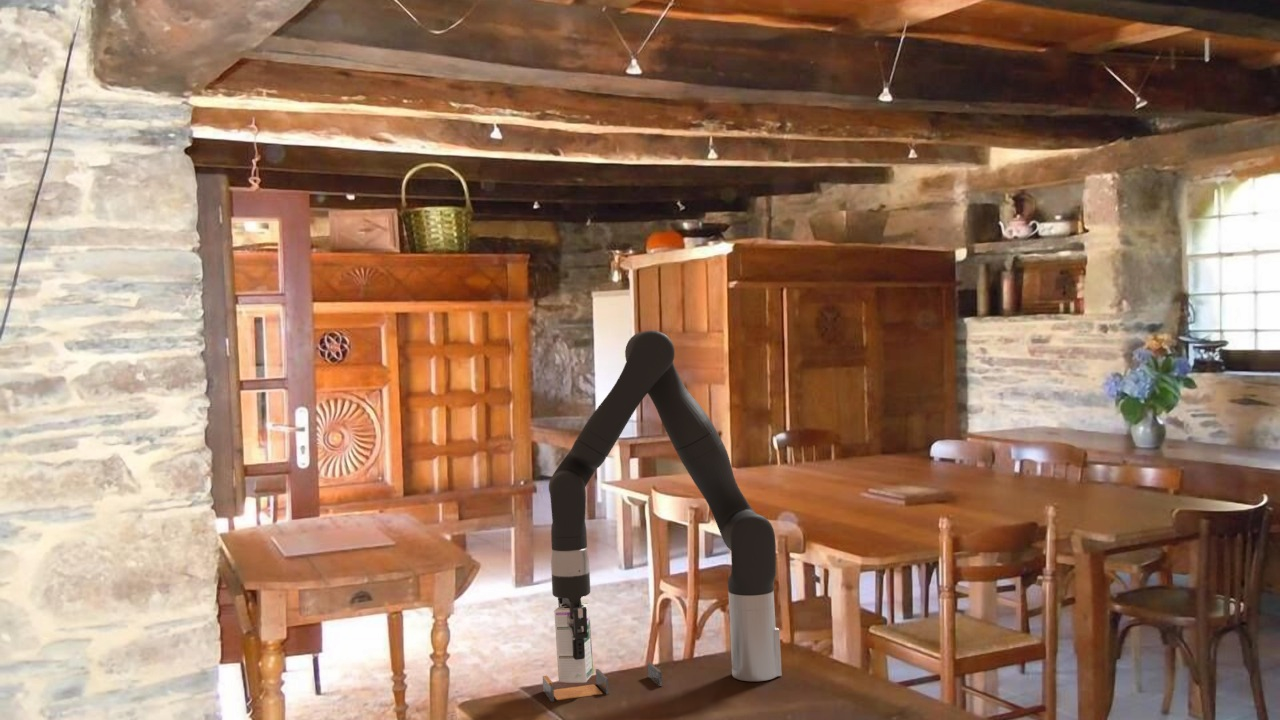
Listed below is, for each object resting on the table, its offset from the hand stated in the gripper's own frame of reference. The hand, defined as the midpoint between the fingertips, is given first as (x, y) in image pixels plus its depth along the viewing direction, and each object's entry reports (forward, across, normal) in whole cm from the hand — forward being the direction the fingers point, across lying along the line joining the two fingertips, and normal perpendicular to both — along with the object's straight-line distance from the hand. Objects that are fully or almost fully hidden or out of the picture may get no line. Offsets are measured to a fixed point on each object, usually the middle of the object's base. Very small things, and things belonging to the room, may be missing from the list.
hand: (574, 653), depth 213 cm
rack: (+8, 0, -6) cm, 9 cm away
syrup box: (+5, 0, 0) cm, 5 cm away
